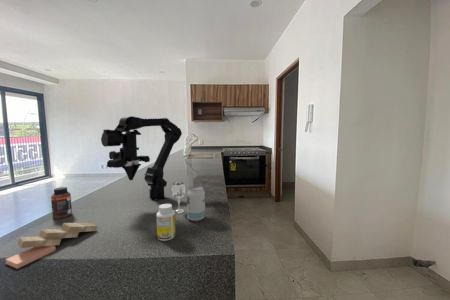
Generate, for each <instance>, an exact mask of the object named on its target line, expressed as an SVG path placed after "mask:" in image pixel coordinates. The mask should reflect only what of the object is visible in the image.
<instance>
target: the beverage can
mask: <svg viewBox="0 0 450 300" xmlns="http://www.w3.org/2000/svg"><path fill="white" fill-rule="evenodd" d="M205 217H206V192H205V190H204V187H203V186H199V185H198V186H197V185H195V186H190V187H188V190H187V192H186V218H187V219H188V220H189V221H192V222H199V221H202V220H203V219H204V218H205Z"/></svg>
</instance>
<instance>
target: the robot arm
mask: <svg viewBox="0 0 450 300" xmlns="http://www.w3.org/2000/svg"><path fill="white" fill-rule="evenodd" d="M145 127H160V128H161V130H162V132H163V133H164V142H163V144H162V146H161V148H160V151H159V153H158V155H157V158H156V160H155V161H154V164H153V165H152V166H151V167H147V168H146V172H145V173H144V182H146V184H147V186H148V187H150V188H149V190H148V194H149V196H148V197H149V199H151V201H157V200H163V199H166V197H165V187H167V186H168V185H167V184H168V182H167V181H166V180H165V179H164V173H165V172H164V167H165V166H166V163H167V161H168V159H169V156H170V154H171V152H172V149H173V147H174V145H175V144H176V143H177V142H178V141H179V140H180V138H181V136H182V135H183V132H182V130H181V128H179V127H178V126H177V124H175V123H173V122H172V121H171V120H170V119H169V118H167V117H161V118H142V117H137V116H132V115H131V116H123V117H121V118H120V119H119V121H118V125H117V126H116V127H115V128H114V129H102V130H103V132H102V134H101V138H100V141H101V144H102V146H103V147H105V148H106V147H119V146H122V147H119V151H117V152H116V151H115V150H112V151H109V152H108V157H109V159H108V161H107V163H106V167H107V168H116V169H118V168H120V169H121V168H122V169H123V170H124V171H125V173H126V175H127V178H128V180H129V181H133V180H134V178H135V176H136V174H137V172H138V170H139V168H140V167H141V166H142V164H141V163H140V162H144V163H149V162H150V161H151V159H150V156H149V155H138V151H139V150H140V147H138V145H137V144H138V143H137V140H138V139H137V136H140V135H142V133H141V132H140V131H139V130H138V129H142V128H145Z"/></svg>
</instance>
